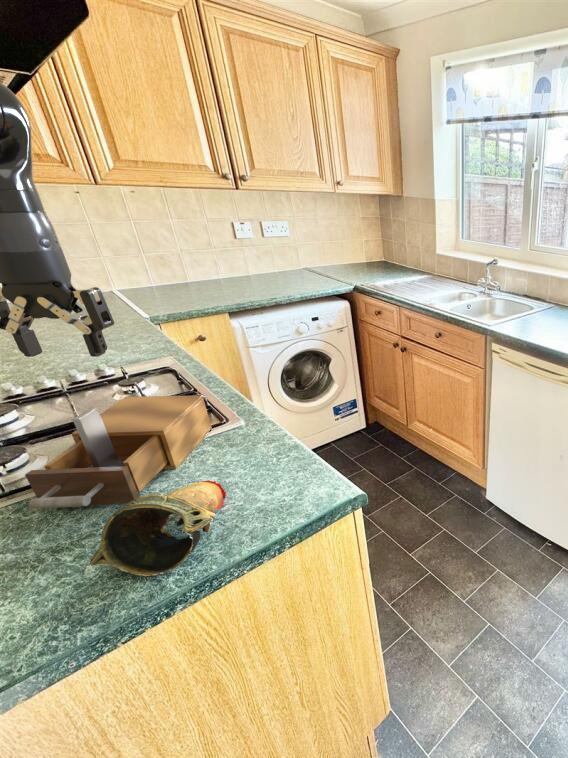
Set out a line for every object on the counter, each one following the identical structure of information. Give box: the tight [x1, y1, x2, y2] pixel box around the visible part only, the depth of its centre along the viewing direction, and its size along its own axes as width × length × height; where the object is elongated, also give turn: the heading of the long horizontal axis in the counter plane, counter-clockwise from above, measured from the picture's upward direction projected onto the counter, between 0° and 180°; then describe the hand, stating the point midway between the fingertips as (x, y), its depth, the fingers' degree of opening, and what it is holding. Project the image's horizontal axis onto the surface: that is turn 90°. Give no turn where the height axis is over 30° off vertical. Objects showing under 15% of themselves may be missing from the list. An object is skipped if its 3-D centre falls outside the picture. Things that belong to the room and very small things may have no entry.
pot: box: [87, 479, 227, 577], centre depth 64 cm, size 17×11×18 cm
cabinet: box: [71, 394, 213, 470], centre depth 84 cm, size 15×15×9 cm
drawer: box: [24, 435, 169, 510], centre depth 72 cm, size 18×13×7 cm
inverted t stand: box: [72, 407, 125, 468], centre depth 72 cm, size 8×6×13 cm
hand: (66, 355), depth 64 cm, fingers open, 8 cm apart
